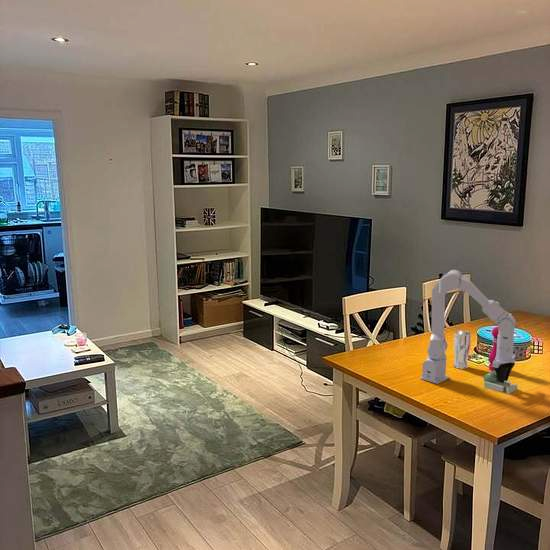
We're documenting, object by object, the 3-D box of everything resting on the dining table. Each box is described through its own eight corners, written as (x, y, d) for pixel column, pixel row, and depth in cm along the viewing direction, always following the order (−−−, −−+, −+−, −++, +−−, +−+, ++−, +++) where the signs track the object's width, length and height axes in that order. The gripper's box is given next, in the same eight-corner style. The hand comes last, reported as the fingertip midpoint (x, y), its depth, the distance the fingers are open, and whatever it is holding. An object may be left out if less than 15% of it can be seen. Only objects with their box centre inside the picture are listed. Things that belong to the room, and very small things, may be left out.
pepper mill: (505, 367, 230) (508, 321, 227) (507, 373, 223) (511, 326, 220) (486, 365, 232) (489, 320, 228) (488, 371, 225) (491, 325, 222)
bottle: (488, 386, 210) (504, 377, 205) (481, 376, 211) (497, 367, 206) (493, 383, 213) (509, 375, 207) (487, 374, 214) (503, 365, 209)
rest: (508, 394, 203) (509, 389, 202) (484, 386, 210) (484, 382, 209) (517, 389, 207) (517, 384, 207) (493, 382, 214) (493, 377, 214)
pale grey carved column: (450, 367, 230) (452, 333, 227) (453, 362, 236) (456, 329, 233) (467, 370, 227) (470, 336, 224) (470, 365, 233) (473, 331, 230)
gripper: (506, 353, 197) (504, 389, 200) (524, 345, 207) (521, 379, 209) (487, 349, 202) (485, 383, 205) (506, 341, 212) (503, 374, 214)
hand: (502, 381), depth 208 cm, fingers closed on bottle, 2 cm apart
